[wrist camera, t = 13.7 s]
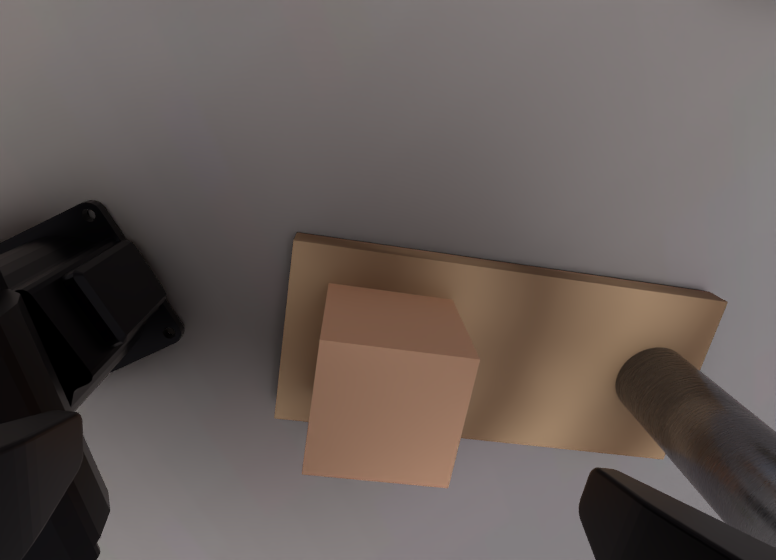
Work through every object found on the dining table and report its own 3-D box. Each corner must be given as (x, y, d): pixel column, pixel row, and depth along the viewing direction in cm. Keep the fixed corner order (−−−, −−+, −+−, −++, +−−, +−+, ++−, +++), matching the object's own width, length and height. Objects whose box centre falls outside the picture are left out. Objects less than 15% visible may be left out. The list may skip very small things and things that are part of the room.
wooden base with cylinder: (278, 402, 23) (193, 732, 11) (296, 232, 21) (211, 423, 9) (649, 443, 25) (917, 762, 13) (709, 291, 23) (1110, 516, 11)
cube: (313, 392, 22) (301, 474, 17) (328, 282, 20) (319, 339, 15) (429, 405, 22) (448, 488, 18) (452, 299, 21) (480, 359, 16)
